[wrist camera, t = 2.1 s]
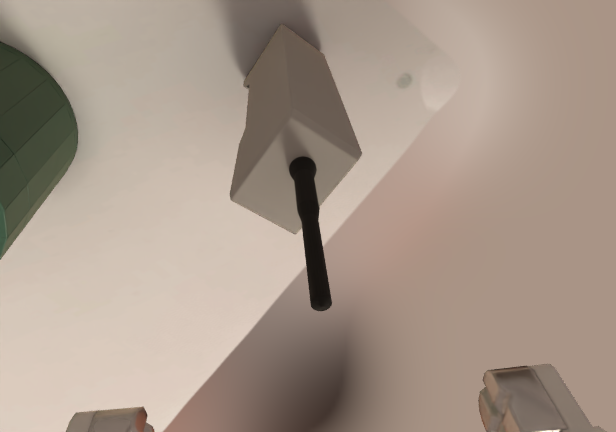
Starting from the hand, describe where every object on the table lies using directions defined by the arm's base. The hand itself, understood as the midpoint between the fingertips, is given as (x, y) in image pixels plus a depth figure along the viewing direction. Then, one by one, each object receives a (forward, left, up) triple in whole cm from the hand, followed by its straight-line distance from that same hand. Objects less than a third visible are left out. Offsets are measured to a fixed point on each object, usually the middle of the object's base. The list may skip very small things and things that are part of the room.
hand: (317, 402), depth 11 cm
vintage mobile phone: (0, 0, -28) cm, 28 cm away
